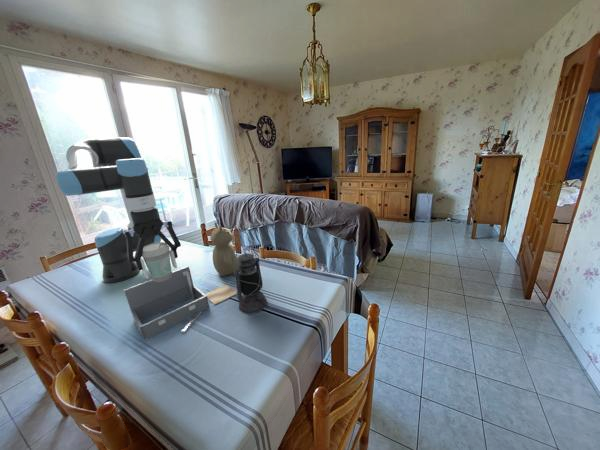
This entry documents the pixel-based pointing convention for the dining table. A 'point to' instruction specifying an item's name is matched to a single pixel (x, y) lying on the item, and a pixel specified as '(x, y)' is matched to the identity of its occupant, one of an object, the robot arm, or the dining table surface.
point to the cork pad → (220, 294)
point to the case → (164, 301)
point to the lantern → (249, 283)
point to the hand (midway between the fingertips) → (161, 271)
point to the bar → (191, 322)
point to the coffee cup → (158, 261)
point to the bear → (223, 251)
